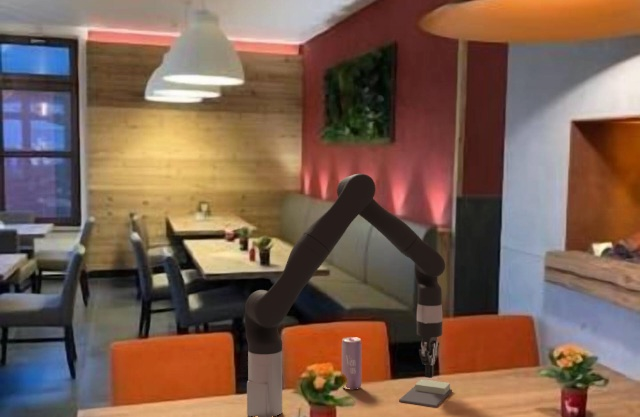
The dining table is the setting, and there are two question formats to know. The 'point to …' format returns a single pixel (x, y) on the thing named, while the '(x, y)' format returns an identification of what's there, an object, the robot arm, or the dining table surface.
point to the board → (432, 386)
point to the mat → (423, 398)
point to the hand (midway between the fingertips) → (429, 376)
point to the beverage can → (351, 361)
